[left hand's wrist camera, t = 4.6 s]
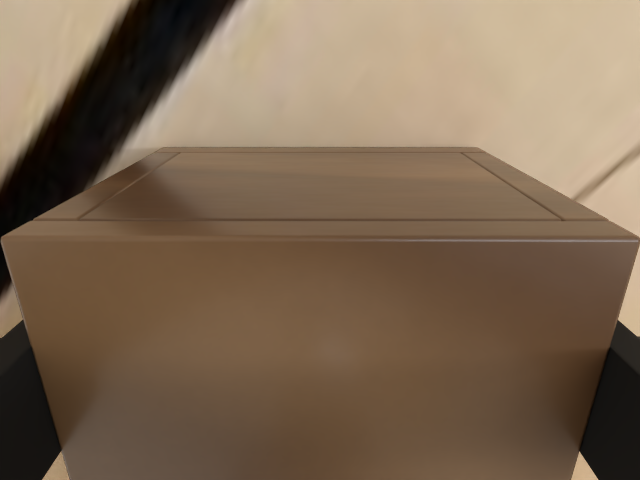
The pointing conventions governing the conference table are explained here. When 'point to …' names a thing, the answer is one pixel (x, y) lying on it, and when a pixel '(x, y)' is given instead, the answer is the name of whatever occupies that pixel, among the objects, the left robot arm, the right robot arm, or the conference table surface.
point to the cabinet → (320, 316)
